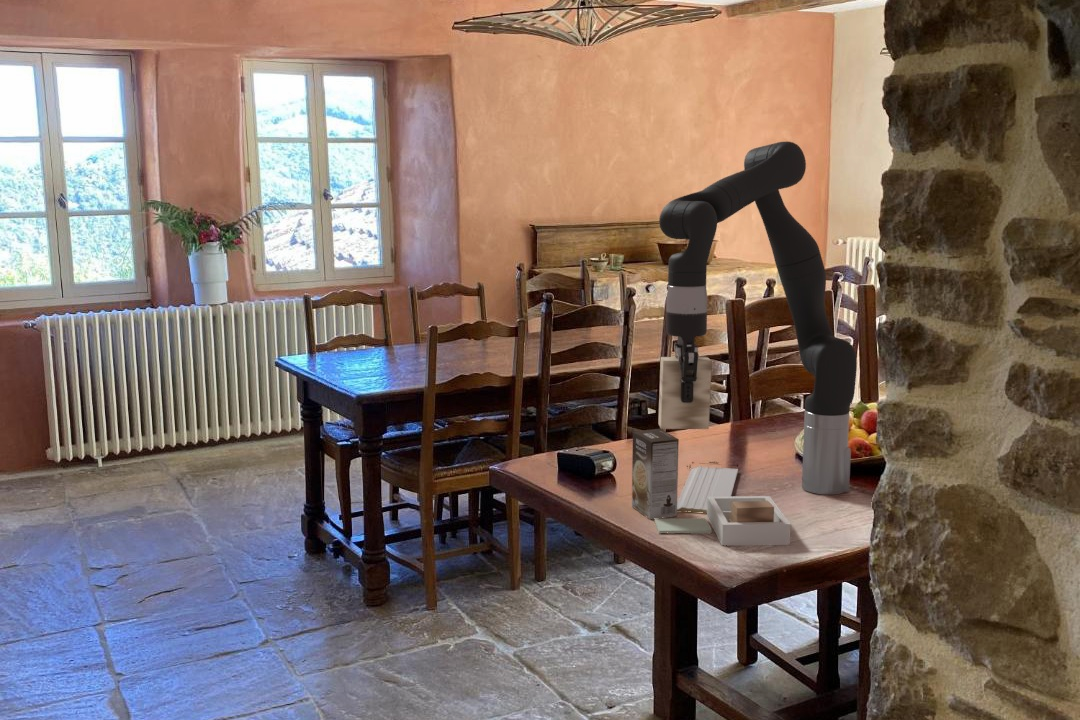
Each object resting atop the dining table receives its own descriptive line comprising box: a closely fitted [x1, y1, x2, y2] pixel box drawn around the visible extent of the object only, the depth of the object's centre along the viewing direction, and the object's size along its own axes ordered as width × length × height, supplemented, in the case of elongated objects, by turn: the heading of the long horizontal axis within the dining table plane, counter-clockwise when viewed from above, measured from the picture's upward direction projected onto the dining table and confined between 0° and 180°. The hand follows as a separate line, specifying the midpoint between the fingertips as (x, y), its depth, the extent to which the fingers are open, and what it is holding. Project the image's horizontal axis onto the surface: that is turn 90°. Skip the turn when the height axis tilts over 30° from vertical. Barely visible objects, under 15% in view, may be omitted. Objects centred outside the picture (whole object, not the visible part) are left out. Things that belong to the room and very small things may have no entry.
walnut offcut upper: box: [731, 501, 774, 523], centre depth 193 cm, size 7×4×4 cm, turn 95°
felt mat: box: [654, 517, 713, 534], centre depth 201 cm, size 10×7×1 cm
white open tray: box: [706, 495, 791, 547], centre depth 199 cm, size 12×17×4 cm
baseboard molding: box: [677, 461, 739, 514], centre depth 224 cm, size 31×3×12 cm
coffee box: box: [631, 428, 680, 520], centre depth 209 cm, size 9×6×16 cm
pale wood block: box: [658, 356, 713, 430], centre depth 196 cm, size 9×4×13 cm, turn 90°
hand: (685, 399), depth 196 cm, fingers closed on pale wood block, 4 cm apart
